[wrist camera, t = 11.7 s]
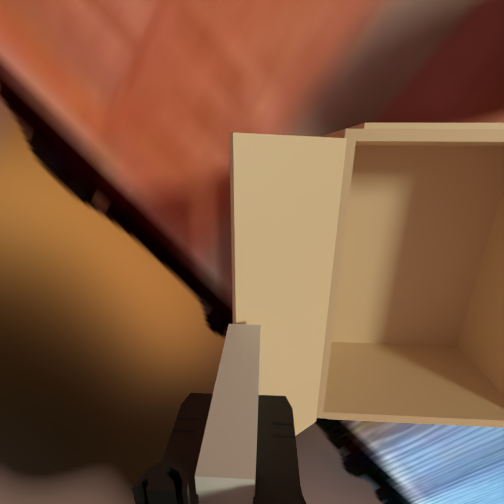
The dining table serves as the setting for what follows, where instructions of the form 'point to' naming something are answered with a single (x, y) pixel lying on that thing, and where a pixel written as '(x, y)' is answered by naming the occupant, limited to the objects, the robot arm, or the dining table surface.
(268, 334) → the flap
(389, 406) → the carton
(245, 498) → the robot arm
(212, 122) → the dining table surface
